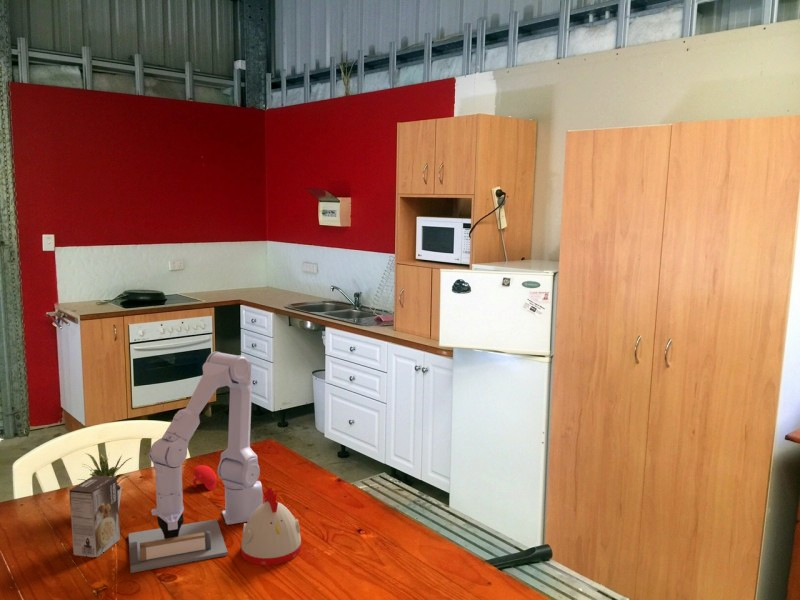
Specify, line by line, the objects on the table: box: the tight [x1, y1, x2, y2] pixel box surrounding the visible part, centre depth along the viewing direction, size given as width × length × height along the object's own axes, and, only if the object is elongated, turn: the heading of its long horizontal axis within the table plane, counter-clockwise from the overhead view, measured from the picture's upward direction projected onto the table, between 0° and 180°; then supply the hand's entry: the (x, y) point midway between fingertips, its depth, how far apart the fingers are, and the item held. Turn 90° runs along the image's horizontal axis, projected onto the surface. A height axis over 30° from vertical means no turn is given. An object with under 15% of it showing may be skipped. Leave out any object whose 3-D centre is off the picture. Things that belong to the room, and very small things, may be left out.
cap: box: [192, 464, 218, 491], centre depth 196 cm, size 8×6×6 cm
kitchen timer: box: [240, 487, 302, 566], centre depth 160 cm, size 14×14×15 cm
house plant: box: [77, 452, 134, 510], centre depth 178 cm, size 14×14×16 cm
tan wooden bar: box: [140, 532, 205, 561], centre depth 156 cm, size 14×1×4 cm, turn 113°
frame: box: [128, 518, 229, 574], centre depth 162 cm, size 21×18×5 cm
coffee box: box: [68, 475, 121, 558], centre depth 160 cm, size 9×6×16 cm
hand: (171, 545), depth 159 cm, fingers closed
